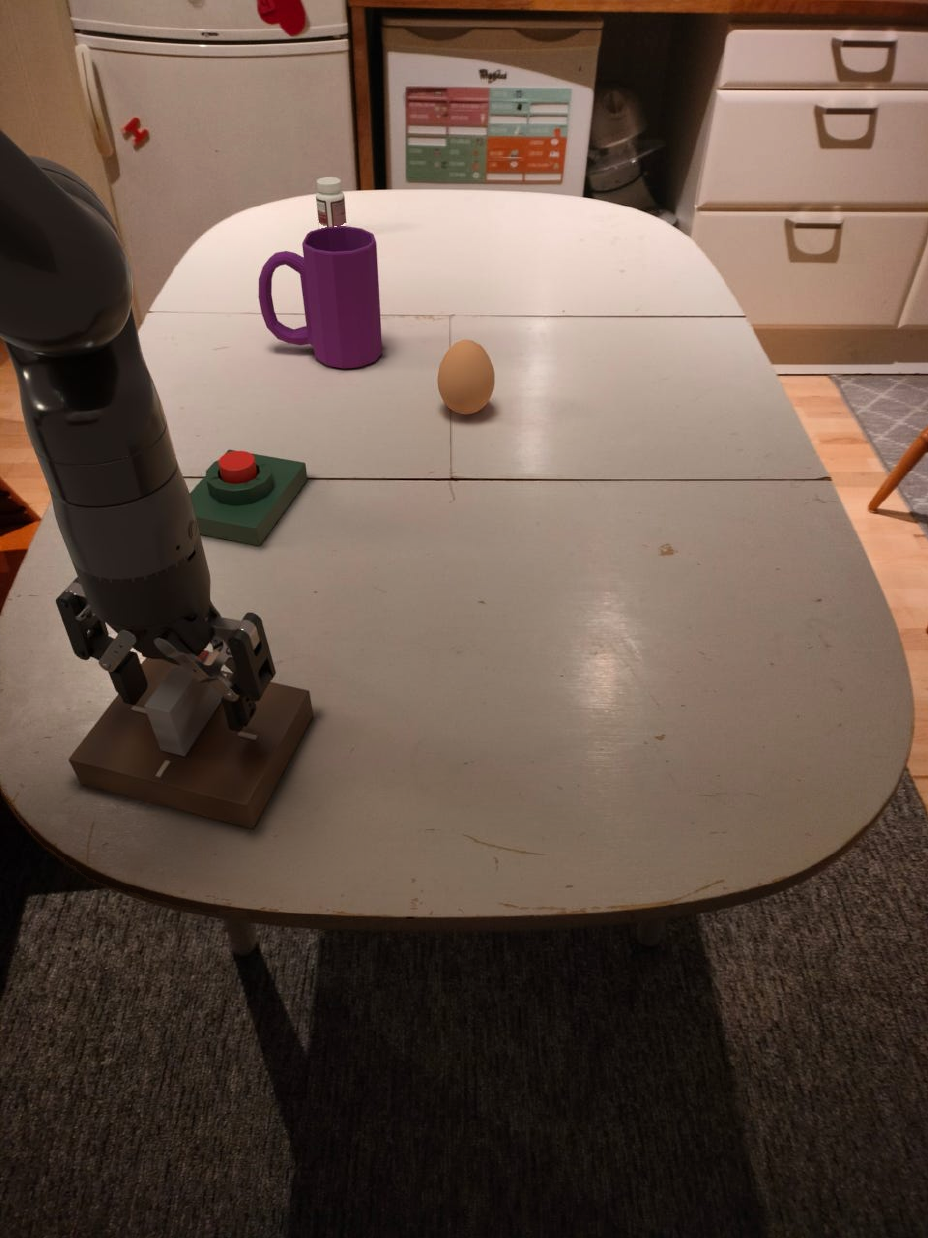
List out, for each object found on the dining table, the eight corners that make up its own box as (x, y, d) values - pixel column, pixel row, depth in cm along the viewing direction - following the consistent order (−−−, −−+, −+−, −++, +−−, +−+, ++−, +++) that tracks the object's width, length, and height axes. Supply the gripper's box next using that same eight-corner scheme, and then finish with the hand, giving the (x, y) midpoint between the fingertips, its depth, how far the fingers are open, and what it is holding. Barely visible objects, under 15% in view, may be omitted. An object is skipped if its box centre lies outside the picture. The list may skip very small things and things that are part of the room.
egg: (494, 426, 100) (497, 355, 94) (437, 425, 100) (437, 354, 94) (492, 397, 105) (495, 328, 99) (437, 397, 105) (437, 328, 99)
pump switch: (259, 546, 83) (253, 513, 81) (177, 530, 85) (168, 497, 82) (307, 479, 92) (303, 447, 89) (232, 466, 93) (225, 434, 91)
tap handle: (185, 757, 61) (168, 710, 57) (160, 750, 61) (142, 703, 58) (224, 696, 65) (211, 649, 61) (201, 691, 65) (187, 643, 62)
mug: (378, 372, 110) (371, 254, 99) (259, 367, 110) (240, 249, 100) (386, 340, 116) (380, 226, 106) (274, 335, 117) (258, 221, 106)
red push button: (247, 487, 84) (244, 472, 83) (214, 481, 85) (211, 466, 84) (263, 468, 87) (260, 453, 86) (231, 462, 87) (228, 447, 86)
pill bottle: (348, 228, 147) (344, 175, 141) (346, 238, 144) (342, 184, 138) (320, 227, 147) (316, 175, 141) (317, 237, 144) (312, 184, 138)
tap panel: (80, 784, 63) (67, 758, 61) (157, 678, 70) (148, 652, 68) (253, 829, 60) (246, 804, 58) (313, 715, 68) (309, 688, 66)
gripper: (-10, 550, 50) (73, 725, 61) (210, 598, 47) (254, 772, 58) (67, 480, 55) (131, 653, 66) (269, 519, 52) (299, 693, 63)
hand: (189, 709), depth 62 cm, fingers open, 8 cm apart
